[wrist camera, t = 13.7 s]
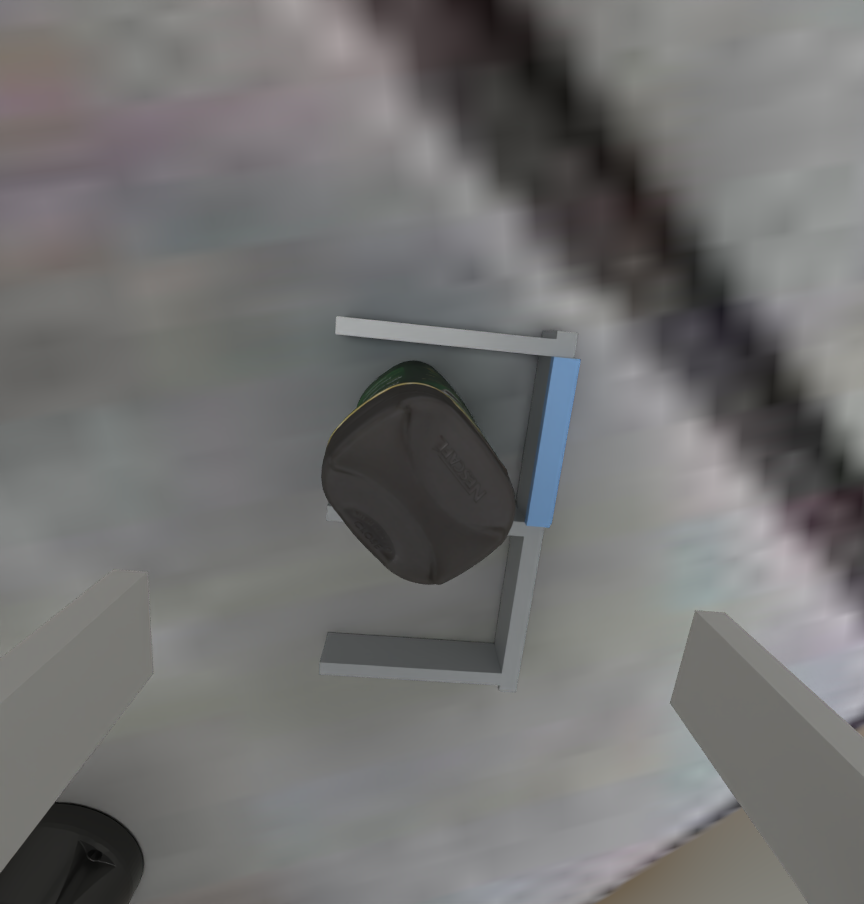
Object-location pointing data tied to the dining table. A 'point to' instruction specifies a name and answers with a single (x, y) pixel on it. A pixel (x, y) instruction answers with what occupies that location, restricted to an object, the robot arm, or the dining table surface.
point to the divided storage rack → (527, 531)
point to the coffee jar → (418, 477)
